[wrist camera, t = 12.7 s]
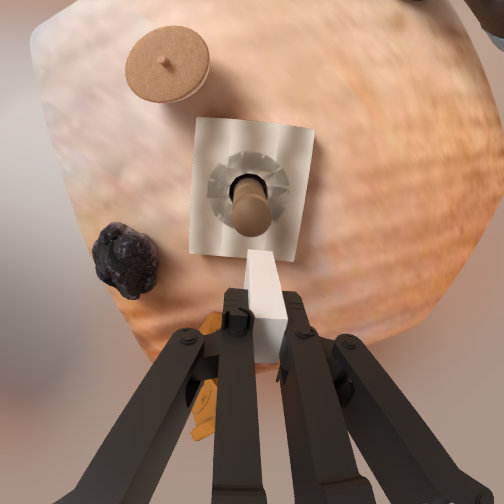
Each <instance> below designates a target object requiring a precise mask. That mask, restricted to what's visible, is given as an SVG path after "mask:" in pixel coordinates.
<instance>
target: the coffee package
mask: <svg viewBox="0 0 504 504" xmlns="http://www.w3.org/2000/svg"><path fill="white" fill-rule="evenodd" d="M221 324H222V314H221V313H216V312H212V313H210V314H209V316H208V317H207V318H206V320H205V321H204V322H203V324H202V325H201V327H200V329H199V330H198V331H200V332H201V333H202V334H203V335H207V334H211V333H214V332H216V331H217V330H219V329H220V327H221ZM217 382H218V378H215V379H209V380H204V383H203V386H202V388H201V390H200V392H199V395H198V397H197V399H196V401H195V404H194V406H193V408H192V410H191V412H192V413H193V415H194V420H195V423H196V428H194V429H193V430H192V431H191V432H190V433H191V435H192V437H193V439H194V441H200V440H201V439H203V438H205V437H207V436H209V435H211V434H213V433H215V416H216V399H217Z"/></svg>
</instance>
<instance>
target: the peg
mask: <svg viewBox="0 0 504 504" xmlns="http://www.w3.org/2000/svg"><path fill="white" fill-rule="evenodd" d="M231 220H232V224H233V227H234V228H235V230H236V231H237V232H238V233H239V234H241V235H243V236H246V237H257V236H260V235H262V234H263V233H265V232H266V231H267V230H268V228H269V227H270V224H271V221H272V215H271V212H270V209H269V206H268V203H267V200H266V197H265V194H264V190H263V187H262V185H261V183H260V181H259V180H258V179H257V178H256V177H253V176H243V177H241V178H240V179H239V180H238V181H237V182H236V184H235V188H234V199H233V208H232V217H231Z"/></svg>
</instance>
